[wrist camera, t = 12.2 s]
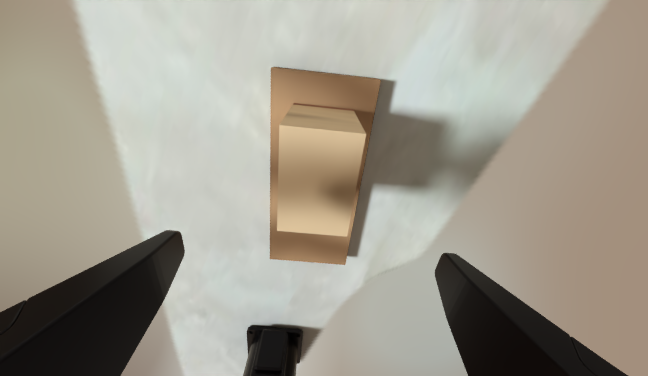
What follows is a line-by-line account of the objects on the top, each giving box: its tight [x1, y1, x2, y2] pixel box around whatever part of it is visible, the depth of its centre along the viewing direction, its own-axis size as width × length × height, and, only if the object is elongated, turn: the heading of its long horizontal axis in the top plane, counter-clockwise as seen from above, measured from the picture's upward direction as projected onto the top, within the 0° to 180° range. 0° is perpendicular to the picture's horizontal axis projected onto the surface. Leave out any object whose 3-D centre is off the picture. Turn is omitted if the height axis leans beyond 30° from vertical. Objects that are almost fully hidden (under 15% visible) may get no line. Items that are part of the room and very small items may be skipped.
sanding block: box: [277, 103, 366, 237], centre depth 16 cm, size 6×4×6 cm, turn 174°
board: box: [270, 67, 381, 265], centre depth 20 cm, size 16×7×1 cm, turn 174°
